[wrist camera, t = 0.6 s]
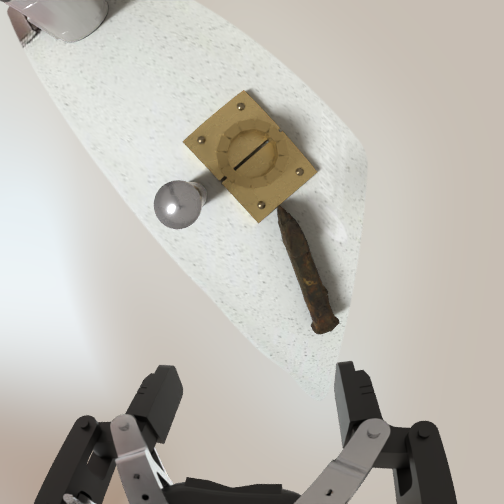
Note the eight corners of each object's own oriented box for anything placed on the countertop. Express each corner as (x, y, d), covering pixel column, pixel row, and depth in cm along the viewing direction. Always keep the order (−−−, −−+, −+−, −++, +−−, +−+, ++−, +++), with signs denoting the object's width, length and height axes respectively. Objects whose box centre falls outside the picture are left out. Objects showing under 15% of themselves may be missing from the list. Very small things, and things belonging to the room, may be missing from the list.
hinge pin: (174, 210, 34) (152, 226, 24) (178, 176, 33) (156, 178, 23) (207, 214, 35) (198, 231, 25) (212, 180, 34) (204, 183, 24)
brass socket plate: (183, 142, 32) (178, 139, 28) (243, 92, 31) (244, 83, 27) (257, 222, 36) (260, 227, 32) (315, 172, 34) (324, 172, 31)
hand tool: (333, 315, 41) (344, 330, 36) (310, 325, 41) (318, 341, 37) (297, 197, 36) (306, 200, 31) (268, 207, 36) (274, 212, 31)
